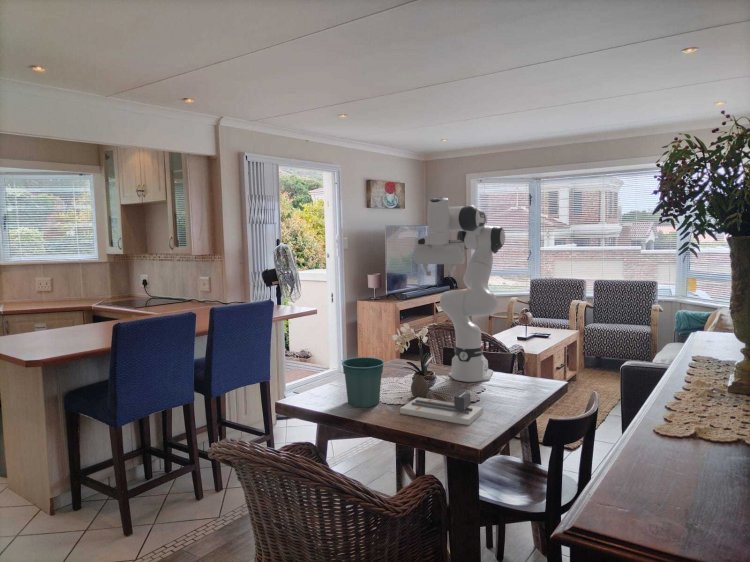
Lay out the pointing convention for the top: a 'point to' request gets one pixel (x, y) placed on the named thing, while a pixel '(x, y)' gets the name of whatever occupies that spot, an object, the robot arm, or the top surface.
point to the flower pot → (363, 380)
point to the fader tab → (462, 401)
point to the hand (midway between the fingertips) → (439, 275)
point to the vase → (419, 387)
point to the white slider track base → (441, 411)
